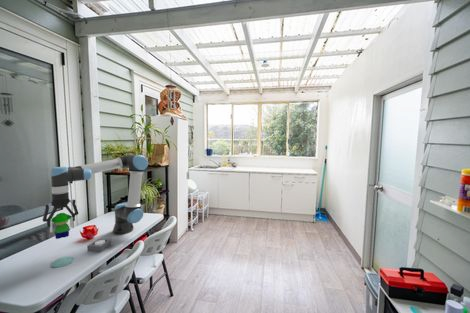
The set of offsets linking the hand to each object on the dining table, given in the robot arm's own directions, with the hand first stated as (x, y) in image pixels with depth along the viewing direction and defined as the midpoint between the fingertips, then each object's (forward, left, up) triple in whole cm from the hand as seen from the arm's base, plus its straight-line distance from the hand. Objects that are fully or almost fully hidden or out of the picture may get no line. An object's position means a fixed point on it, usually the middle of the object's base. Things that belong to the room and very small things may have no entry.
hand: (61, 229), depth 118 cm
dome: (-20, -2, -20) cm, 28 cm away
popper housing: (-20, -1, -21) cm, 29 cm away
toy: (0, 0, -5) cm, 5 cm away
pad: (0, 0, -21) cm, 21 cm away
